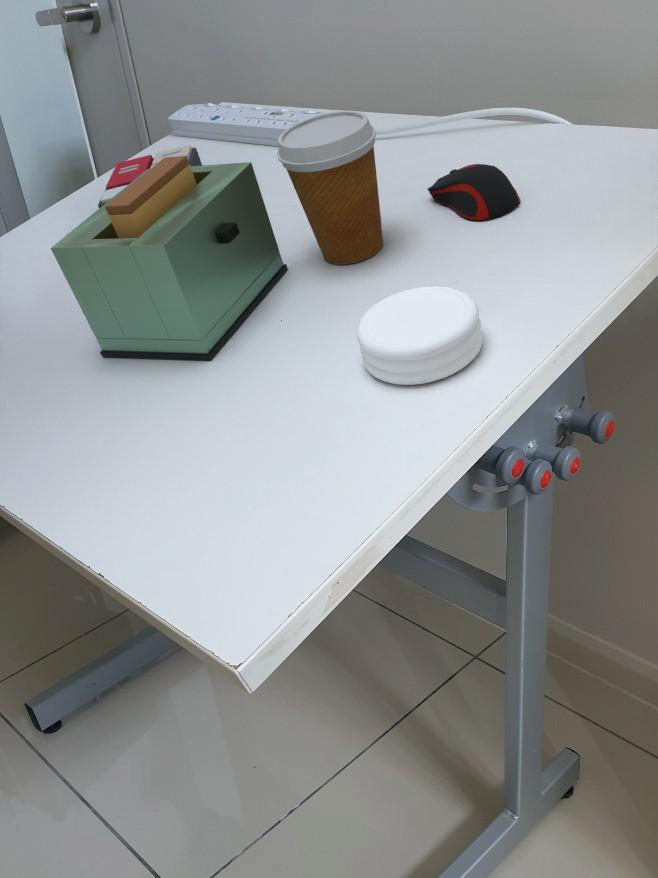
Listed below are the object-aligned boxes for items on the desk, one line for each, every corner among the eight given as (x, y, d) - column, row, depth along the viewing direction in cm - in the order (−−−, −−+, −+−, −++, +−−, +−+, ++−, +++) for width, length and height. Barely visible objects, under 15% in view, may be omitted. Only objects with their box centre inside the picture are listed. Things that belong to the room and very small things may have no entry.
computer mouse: (469, 178, 96) (464, 141, 93) (531, 202, 88) (527, 162, 86) (422, 200, 94) (415, 162, 91) (481, 226, 87) (476, 187, 84)
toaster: (102, 357, 83) (47, 249, 75) (187, 270, 93) (146, 168, 86) (220, 361, 78) (173, 246, 70) (296, 269, 88) (263, 160, 81)
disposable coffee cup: (359, 279, 84) (327, 153, 76) (289, 266, 89) (252, 147, 81) (417, 233, 88) (393, 110, 80) (348, 223, 94) (318, 106, 86)
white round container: (424, 309, 77) (417, 273, 75) (508, 339, 71) (503, 300, 69) (340, 365, 73) (330, 329, 71) (422, 402, 67) (413, 363, 65)
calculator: (194, 140, 113) (184, 176, 101) (205, 174, 116) (197, 212, 104) (113, 161, 113) (93, 199, 102) (126, 194, 116) (109, 234, 105)
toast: (154, 319, 82) (104, 206, 74) (206, 266, 88) (164, 157, 81) (176, 319, 81) (127, 205, 73) (226, 266, 87) (186, 155, 80)
